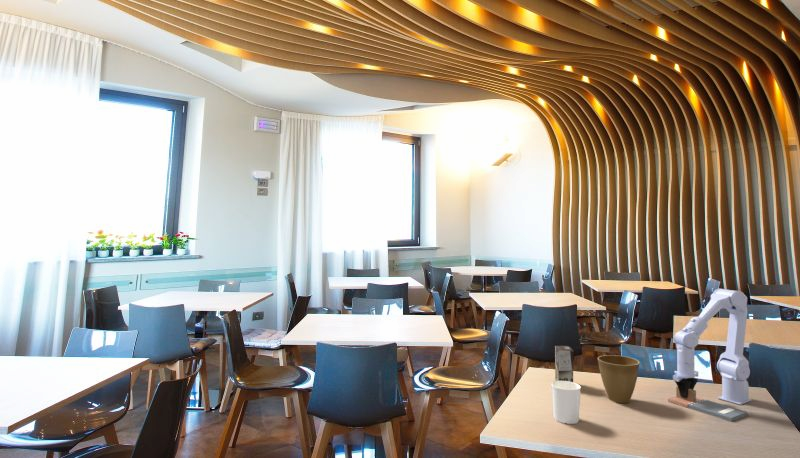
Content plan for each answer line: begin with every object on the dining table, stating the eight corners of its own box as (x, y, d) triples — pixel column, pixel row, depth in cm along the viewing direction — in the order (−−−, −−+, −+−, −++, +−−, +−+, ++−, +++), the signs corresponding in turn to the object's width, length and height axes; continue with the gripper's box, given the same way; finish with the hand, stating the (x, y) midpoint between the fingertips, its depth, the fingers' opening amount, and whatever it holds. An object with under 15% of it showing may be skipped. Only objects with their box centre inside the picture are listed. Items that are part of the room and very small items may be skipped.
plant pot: (611, 391, 184) (611, 353, 184) (647, 402, 171) (647, 361, 171) (590, 397, 176) (589, 357, 176) (625, 410, 163) (625, 366, 163)
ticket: (705, 402, 171) (705, 399, 171) (747, 415, 159) (747, 411, 159) (688, 408, 165) (688, 404, 165) (731, 421, 153) (731, 417, 153)
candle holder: (580, 416, 157) (580, 382, 157) (582, 426, 148) (581, 391, 148) (551, 412, 160) (551, 379, 161) (551, 422, 151) (551, 387, 151)
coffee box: (573, 388, 186) (573, 350, 187) (558, 387, 188) (558, 349, 188) (570, 382, 195) (569, 345, 196) (554, 380, 196) (554, 344, 197)
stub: (684, 396, 178) (684, 383, 178) (704, 401, 172) (704, 389, 172) (668, 401, 172) (668, 388, 172) (687, 407, 166) (687, 394, 166)
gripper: (685, 357, 179) (685, 390, 179) (664, 362, 172) (665, 396, 172) (703, 361, 173) (704, 396, 173) (683, 366, 166) (684, 402, 166)
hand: (686, 397), depth 172 cm, fingers closed on stub, 2 cm apart
